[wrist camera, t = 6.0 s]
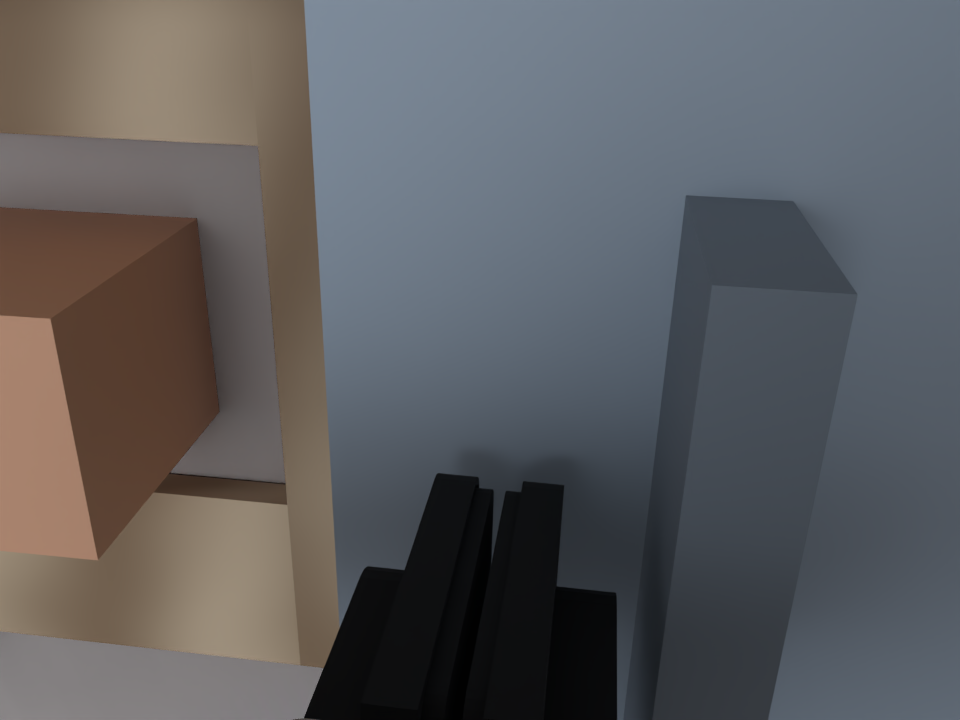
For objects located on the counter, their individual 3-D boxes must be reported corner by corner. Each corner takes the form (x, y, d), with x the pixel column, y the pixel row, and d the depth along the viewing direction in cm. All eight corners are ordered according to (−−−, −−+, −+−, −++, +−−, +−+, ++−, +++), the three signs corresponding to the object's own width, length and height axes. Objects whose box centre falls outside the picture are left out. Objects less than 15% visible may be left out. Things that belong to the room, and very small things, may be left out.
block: (197, 217, 19) (51, 318, 14) (220, 411, 21) (97, 560, 16) (-7, 206, 19) (-221, 300, 14) (33, 395, 21) (-143, 536, 16)
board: (1186, -123, 14) (1506, -156, 9) (927, 710, 21) (1024, 947, 16) (-277, -146, 17) (-656, -182, 12) (-60, 601, 24) (-236, 776, 19)
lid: (1293, -151, 9) (1708, -202, 6) (910, 943, 16) (990, 1210, 13) (316, -163, 10) (168, -214, 7) (366, 869, 17) (306, 1097, 14)
